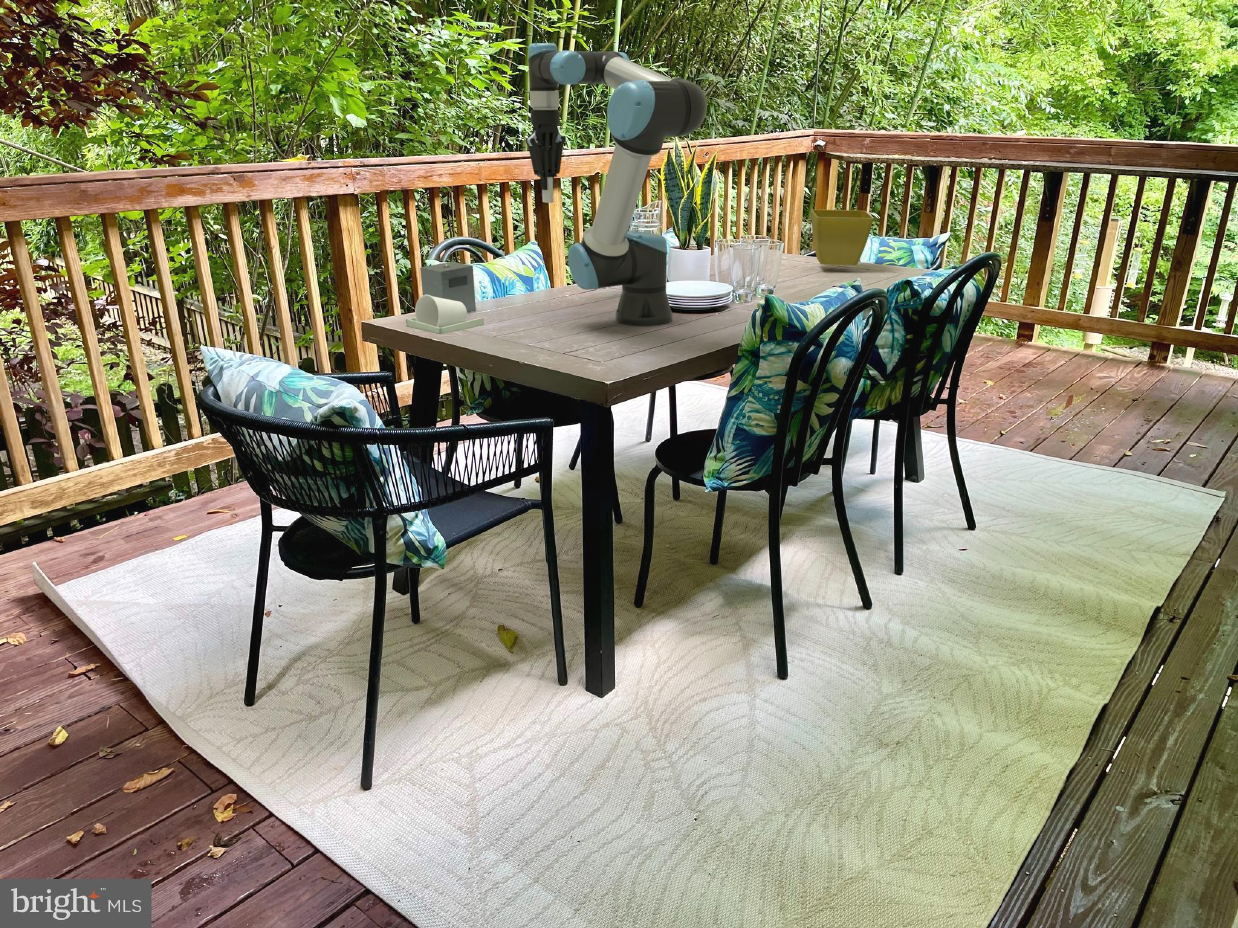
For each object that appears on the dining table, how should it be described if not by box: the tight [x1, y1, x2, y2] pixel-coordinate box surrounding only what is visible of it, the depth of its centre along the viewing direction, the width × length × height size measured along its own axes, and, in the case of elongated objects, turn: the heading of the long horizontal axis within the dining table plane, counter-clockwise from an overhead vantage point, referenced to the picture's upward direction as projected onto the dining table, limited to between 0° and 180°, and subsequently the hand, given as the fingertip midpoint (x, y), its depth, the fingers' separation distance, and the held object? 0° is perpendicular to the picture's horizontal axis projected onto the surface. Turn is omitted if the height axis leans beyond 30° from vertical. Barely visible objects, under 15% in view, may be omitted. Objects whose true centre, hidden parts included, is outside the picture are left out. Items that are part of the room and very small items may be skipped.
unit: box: [419, 261, 477, 313], centre depth 247 cm, size 10×11×14 cm
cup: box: [414, 294, 468, 328], centre depth 231 cm, size 10×10×11 cm
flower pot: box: [810, 209, 874, 266], centre depth 312 cm, size 19×19×17 cm
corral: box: [405, 316, 485, 335], centre depth 233 cm, size 14×14×3 cm
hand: (548, 202), depth 242 cm, fingers closed
